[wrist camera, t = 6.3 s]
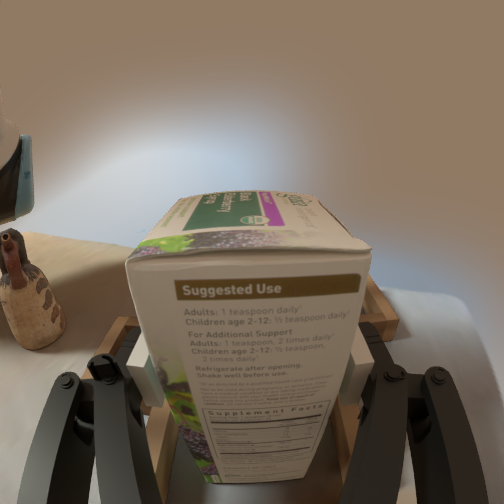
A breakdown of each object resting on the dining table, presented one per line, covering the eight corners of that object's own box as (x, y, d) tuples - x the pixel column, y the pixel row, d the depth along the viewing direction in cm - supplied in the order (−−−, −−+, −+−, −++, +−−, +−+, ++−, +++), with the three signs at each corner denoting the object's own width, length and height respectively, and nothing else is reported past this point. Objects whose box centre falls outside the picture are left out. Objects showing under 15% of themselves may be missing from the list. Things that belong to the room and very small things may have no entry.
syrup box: (210, 412, 16) (169, 194, 11) (297, 407, 17) (317, 187, 11) (206, 484, 11) (107, 252, 5) (309, 479, 11) (383, 240, 5)
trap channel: (451, 468, 9) (484, 438, 7) (63, 472, 10) (28, 443, 8) (351, 271, 34) (355, 243, 32) (159, 276, 34) (154, 248, 33)
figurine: (62, 306, 28) (34, 213, 23) (72, 336, 23) (33, 225, 18) (17, 325, 23) (-17, 233, 18) (19, 359, 18) (-30, 250, 13)
